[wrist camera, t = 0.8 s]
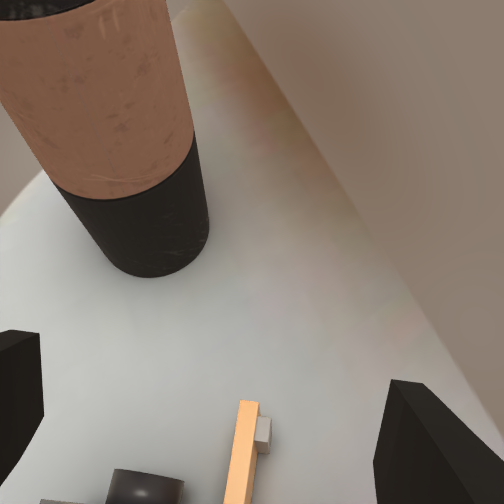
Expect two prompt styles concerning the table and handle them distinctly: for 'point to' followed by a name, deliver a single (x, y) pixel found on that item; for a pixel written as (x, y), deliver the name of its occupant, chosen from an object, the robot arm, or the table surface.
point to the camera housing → (139, 489)
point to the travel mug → (109, 123)
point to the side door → (247, 452)
